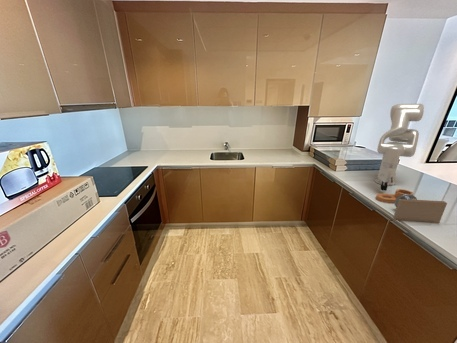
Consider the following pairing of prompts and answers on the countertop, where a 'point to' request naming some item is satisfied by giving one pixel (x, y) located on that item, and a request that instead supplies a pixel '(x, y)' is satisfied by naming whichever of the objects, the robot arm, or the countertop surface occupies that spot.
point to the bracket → (392, 196)
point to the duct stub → (418, 209)
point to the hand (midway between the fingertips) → (383, 189)
